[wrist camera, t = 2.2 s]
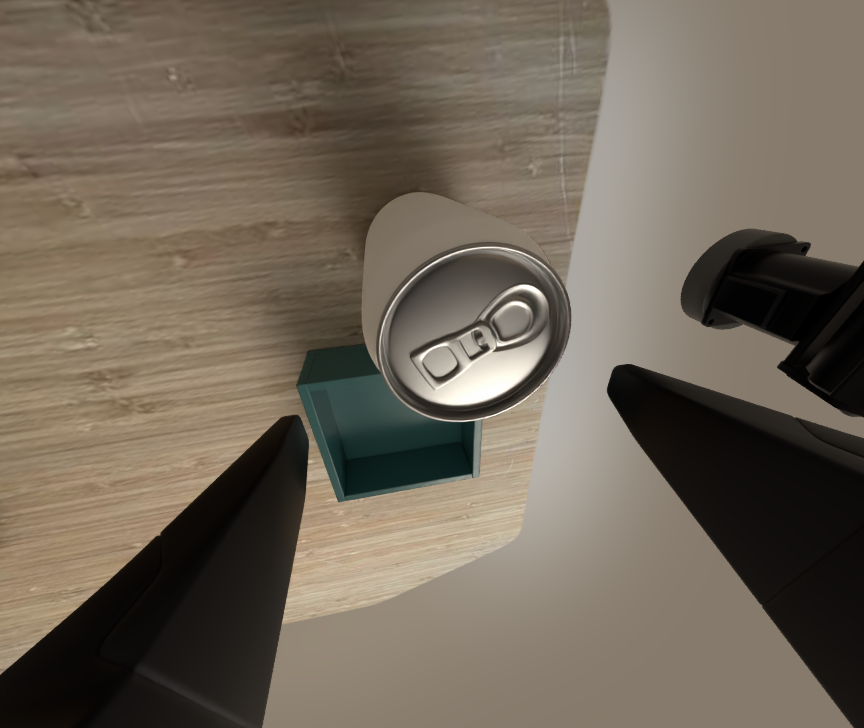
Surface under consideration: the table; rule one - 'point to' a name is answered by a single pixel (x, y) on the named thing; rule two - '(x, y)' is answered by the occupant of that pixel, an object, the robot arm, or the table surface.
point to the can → (459, 308)
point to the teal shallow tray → (378, 430)
